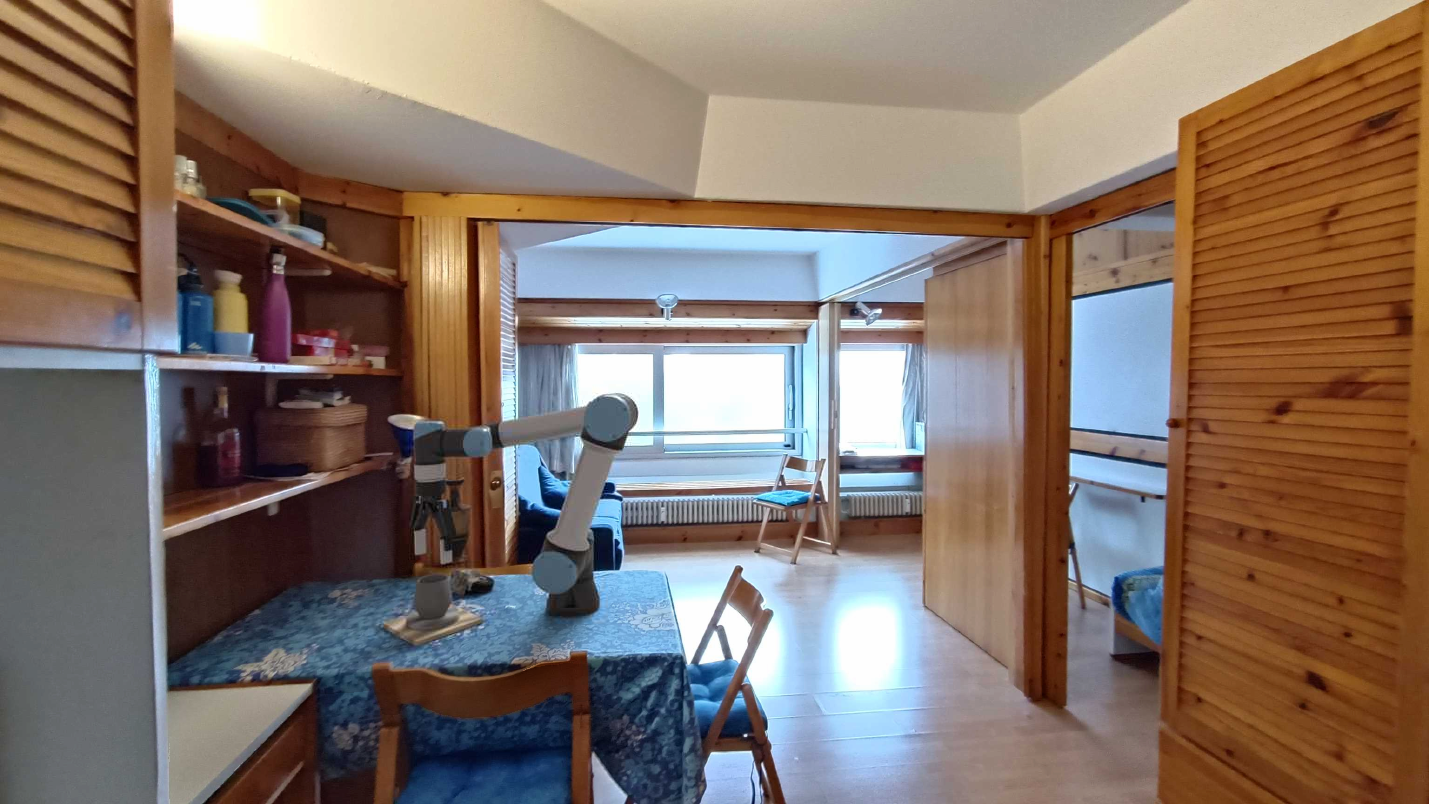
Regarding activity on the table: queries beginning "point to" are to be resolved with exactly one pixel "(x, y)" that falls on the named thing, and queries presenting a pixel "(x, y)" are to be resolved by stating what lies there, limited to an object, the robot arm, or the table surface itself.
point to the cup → (432, 596)
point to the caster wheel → (469, 581)
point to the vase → (458, 521)
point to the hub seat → (431, 625)
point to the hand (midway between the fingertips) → (433, 558)
